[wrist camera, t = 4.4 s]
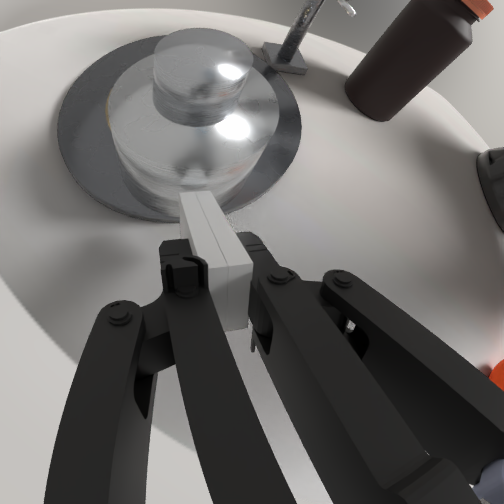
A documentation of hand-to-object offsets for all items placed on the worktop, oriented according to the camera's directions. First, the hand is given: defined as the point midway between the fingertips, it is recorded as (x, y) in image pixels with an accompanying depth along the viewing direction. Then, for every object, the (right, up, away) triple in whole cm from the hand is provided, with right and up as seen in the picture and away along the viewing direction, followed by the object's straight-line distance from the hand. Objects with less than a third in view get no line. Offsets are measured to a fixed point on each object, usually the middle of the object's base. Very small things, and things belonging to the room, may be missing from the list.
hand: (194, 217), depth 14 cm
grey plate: (-3, +10, +7) cm, 12 cm away
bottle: (+16, +16, +14) cm, 27 cm away
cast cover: (-2, +5, +4) cm, 7 cm away
